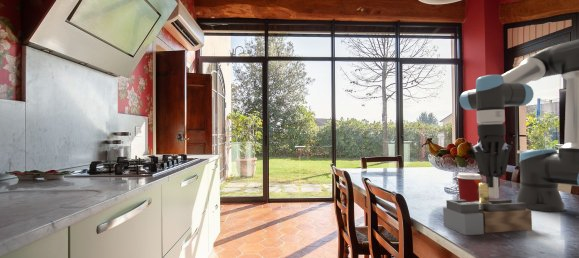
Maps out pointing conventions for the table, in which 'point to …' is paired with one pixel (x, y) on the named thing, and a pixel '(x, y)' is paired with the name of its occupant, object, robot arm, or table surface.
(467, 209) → the bracket
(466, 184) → the coffee cup
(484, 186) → the white and gold piece
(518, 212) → the door
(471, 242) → the table surface
